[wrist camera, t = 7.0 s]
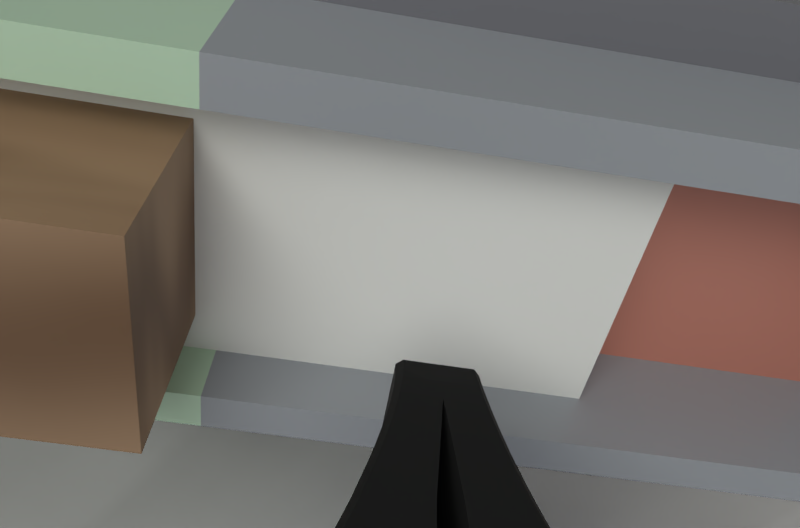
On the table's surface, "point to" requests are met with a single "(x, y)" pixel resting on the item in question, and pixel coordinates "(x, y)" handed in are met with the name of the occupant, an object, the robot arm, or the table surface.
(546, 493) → the table surface
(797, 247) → the trap channel
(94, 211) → the walnut block
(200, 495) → the table surface
